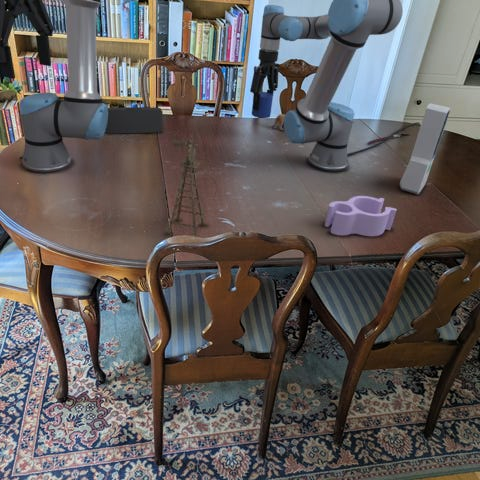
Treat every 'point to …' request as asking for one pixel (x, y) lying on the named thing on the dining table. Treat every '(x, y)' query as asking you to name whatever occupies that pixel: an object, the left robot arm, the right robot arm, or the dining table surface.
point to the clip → (359, 216)
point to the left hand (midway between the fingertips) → (28, 71)
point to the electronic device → (425, 148)
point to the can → (264, 106)
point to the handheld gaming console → (134, 120)
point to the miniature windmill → (187, 165)
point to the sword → (385, 138)
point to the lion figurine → (279, 121)
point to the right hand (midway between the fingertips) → (262, 107)
